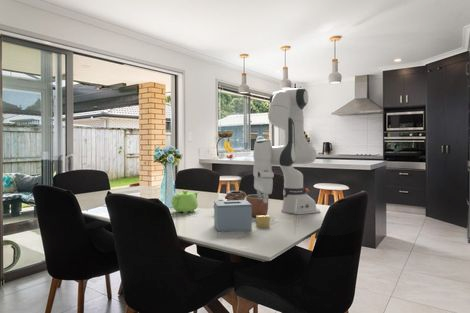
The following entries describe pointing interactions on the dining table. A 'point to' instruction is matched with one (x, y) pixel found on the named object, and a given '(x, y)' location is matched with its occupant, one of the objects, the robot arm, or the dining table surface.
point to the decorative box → (235, 195)
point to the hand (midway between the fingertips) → (262, 201)
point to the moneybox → (232, 215)
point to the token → (262, 221)
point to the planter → (257, 205)
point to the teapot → (185, 202)
